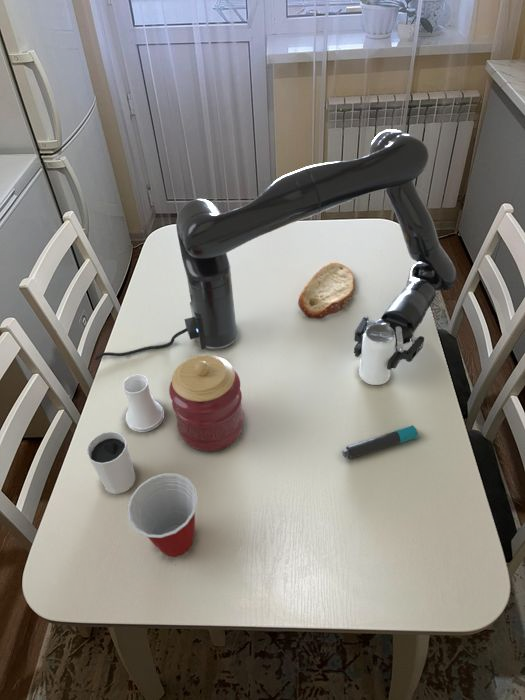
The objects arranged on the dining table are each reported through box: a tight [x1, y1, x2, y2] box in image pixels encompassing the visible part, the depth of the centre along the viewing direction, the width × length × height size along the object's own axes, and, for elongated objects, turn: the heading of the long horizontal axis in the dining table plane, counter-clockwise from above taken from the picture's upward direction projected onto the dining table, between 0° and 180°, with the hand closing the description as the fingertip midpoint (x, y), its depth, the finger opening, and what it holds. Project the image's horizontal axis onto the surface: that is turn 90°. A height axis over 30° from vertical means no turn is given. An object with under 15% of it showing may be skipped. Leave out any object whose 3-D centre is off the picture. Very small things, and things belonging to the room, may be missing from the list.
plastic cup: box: [126, 472, 199, 558], centre depth 86 cm, size 11×11×12 cm
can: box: [358, 324, 396, 386], centre depth 111 cm, size 6×6×12 cm
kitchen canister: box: [168, 354, 245, 453], centre depth 101 cm, size 13×13×18 cm
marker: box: [341, 425, 419, 459], centre depth 101 cm, size 15×2×2 cm
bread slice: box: [297, 261, 356, 320], centre depth 135 cm, size 18×18×4 cm
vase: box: [122, 373, 165, 433], centre depth 106 cm, size 8×8×10 cm
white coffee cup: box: [86, 431, 136, 495], centre depth 95 cm, size 7×7×10 cm
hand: (372, 360), depth 109 cm, fingers closed on can, 6 cm apart
